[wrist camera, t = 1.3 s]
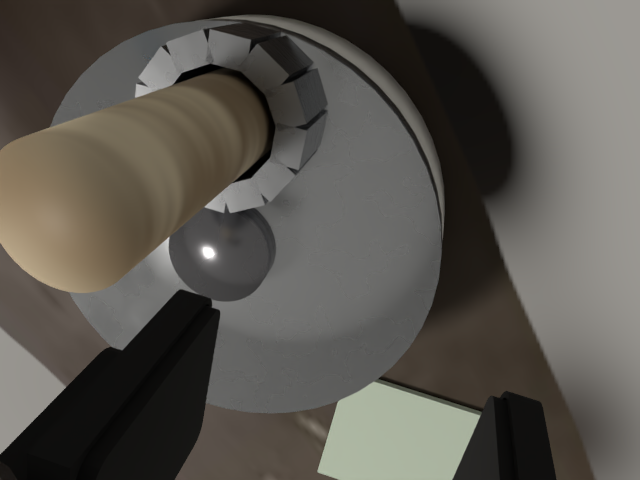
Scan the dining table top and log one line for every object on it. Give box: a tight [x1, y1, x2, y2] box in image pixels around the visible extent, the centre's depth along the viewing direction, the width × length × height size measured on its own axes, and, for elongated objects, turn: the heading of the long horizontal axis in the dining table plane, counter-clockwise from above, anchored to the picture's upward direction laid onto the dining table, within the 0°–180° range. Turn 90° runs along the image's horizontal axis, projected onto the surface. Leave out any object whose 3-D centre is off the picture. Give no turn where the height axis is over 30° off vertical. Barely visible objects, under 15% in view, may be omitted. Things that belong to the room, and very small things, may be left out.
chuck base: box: [198, 14, 445, 240], centre depth 33 cm, size 21×21×4 cm
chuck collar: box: [51, 19, 443, 413], centre depth 28 cm, size 21×21×6 cm
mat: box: [318, 379, 482, 480], centre depth 39 cm, size 9×9×1 cm
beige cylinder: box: [0, 67, 276, 293], centre depth 20 cm, size 4×4×14 cm
